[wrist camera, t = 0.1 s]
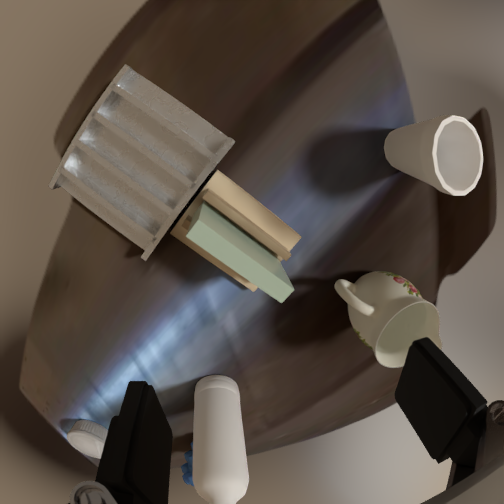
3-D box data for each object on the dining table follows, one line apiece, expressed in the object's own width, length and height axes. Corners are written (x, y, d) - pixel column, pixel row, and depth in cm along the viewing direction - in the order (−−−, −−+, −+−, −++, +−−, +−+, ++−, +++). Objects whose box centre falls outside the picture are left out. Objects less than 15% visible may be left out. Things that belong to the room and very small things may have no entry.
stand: (217, 169, 36) (217, 171, 32) (298, 234, 40) (306, 243, 37) (171, 230, 38) (166, 239, 34) (252, 287, 42) (256, 300, 38)
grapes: (201, 454, 56) (201, 495, 45) (176, 446, 54) (173, 488, 43) (229, 434, 54) (232, 479, 43) (202, 424, 52) (202, 472, 41)
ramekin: (124, 442, 53) (121, 459, 48) (91, 443, 53) (87, 459, 48) (96, 414, 49) (91, 432, 44) (64, 417, 49) (58, 432, 45)
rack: (133, 71, 30) (124, 63, 26) (234, 142, 35) (236, 141, 31) (61, 181, 34) (47, 185, 30) (152, 250, 39) (146, 261, 35)
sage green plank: (203, 200, 36) (198, 219, 26) (276, 255, 39) (294, 289, 30) (194, 213, 36) (185, 236, 27) (267, 266, 40) (281, 303, 30)
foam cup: (366, 162, 38) (422, 172, 26) (386, 107, 35) (444, 99, 23) (412, 189, 40) (469, 208, 28) (430, 138, 37) (489, 143, 25)
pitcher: (341, 235, 41) (389, 273, 28) (414, 282, 46) (461, 321, 33) (301, 297, 44) (331, 353, 31) (379, 332, 48) (416, 380, 35)
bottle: (199, 403, 50) (200, 549, 22) (190, 375, 47) (184, 539, 19) (241, 400, 50) (261, 546, 22) (236, 371, 47) (257, 537, 19)
